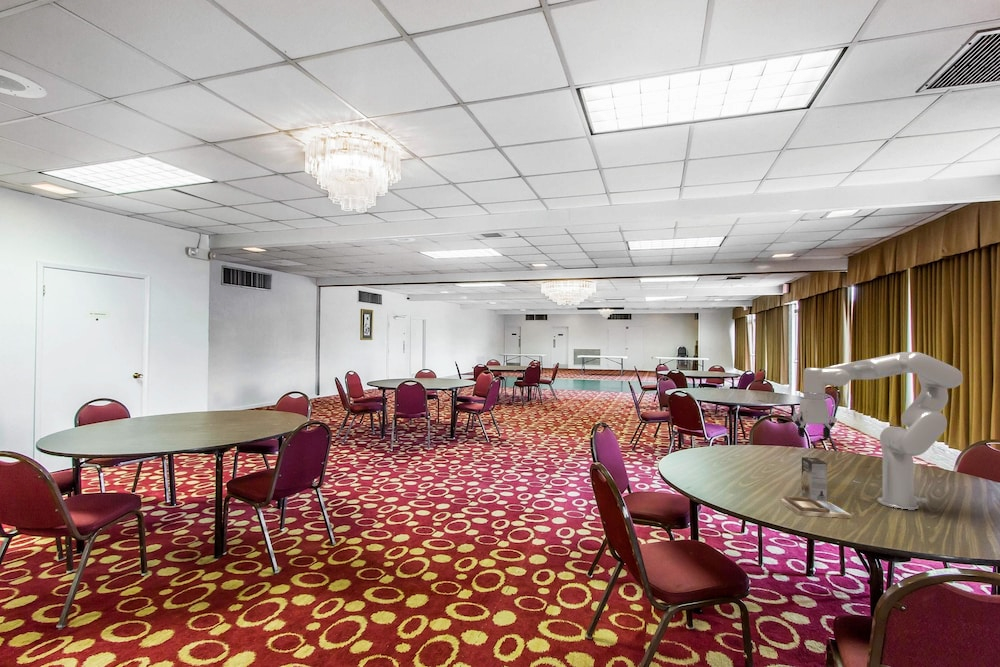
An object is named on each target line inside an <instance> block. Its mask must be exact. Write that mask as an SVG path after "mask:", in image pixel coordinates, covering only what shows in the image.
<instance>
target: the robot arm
mask: <svg viewBox="0 0 1000 667" xmlns="http://www.w3.org/2000/svg"><path fill="white" fill-rule="evenodd" d="M909 373H910V374H916V375H917V379H918V382H919V384H920V392H919V394H918V396H917V397H916V398H915V399H914V400H913V402H912V403H911V404H910V405H909V406H908V407H907V408H906V409H905V411H903V413H902V414H901V417H900V421H901V423H902V424H903V425H904V426H905V427H907V428H903V427H900V426H887V427H886V428H884V429H883V430H882V431H881V433H880V436H879V440H880V441H879V442H880V446H881V454H882V491H881V492H882V493H881V494H882V495H881V497H880V496H879V497H877V502H878V503H879V504H880V505H883V506H886V507H889V508H893V507H894V508H893V509H897V508H901V509H900V510H903V509H908V510H907V511H916V510H915V509H918V508H919V503H920V504H927V503H928V499H927V498H926V497H918V496H916V495H915V494H914V466H915V464H914V457H915V456H921V455H923V454H925V453H926V452H927V451H928V450H929V449H930V448H931V447H932V446H933V445H934V444H935V442H937V440H939V438H940V437H941V436H942V435H943V434H944V433H945V431H946V429H947V425H948V421H947V417H946V416H945V415H944V414H943V412H942V411H943V410H944V408H945V407H946V406H947V404H948V402H949V393H948V389H954V388H957V387H959V386H960V385H961V384H962V383H963V381H964V376H963V372H961V371H960V369H958V368H957V367H954V366H953V365H952V364H948V363H946V362H944V361H941V360H939V359H936V358H935V357H933V356H930V355H928V354H925V353H922V352H919V351H902V352H895V353H891V354H887V355H882V356H878V357H873V358H868V359H860V360H856V361H851V362H845V363H844V362H843V363H839V364H835V365H830V366H826V367H823V368H821V367H806V368H804V370H803V398H801V399H800V404H799V408H798V413H796V414H793V415H792V416H791V419H792V421H793V423H794V425H795V426H796V427H797V434H798V436H799V437H801V438H805V427H804V426H805V425H806V424H809V425H810V424H812V425H822V426H823V428H822V429H823V430H822V431H823V432H822V436H823V437H822V438H825V439H830V436H831V429H832V427H834V426H835V424H836V422H837V420H838V419H837V418H836V417H835V416H832V415H830V414H829V413H830V411H829V406H828V401H827V400H826V398H827V399H828V398H829V394H826V386H834V387H844V386H846V385H848V383H850V381H854V380H878V379H882V378H887V377H892V376H897V375H898V376H899V375H903V374H909ZM829 421H830V422H829ZM918 510H919V509H918Z"/></svg>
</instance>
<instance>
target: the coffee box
mask: <svg viewBox="0 0 1000 667" xmlns="http://www.w3.org/2000/svg"><path fill="white" fill-rule="evenodd" d="M827 493H828V463H827V462H826V461H824V460H821V459H820V458H818V457H806V456H805V457H804V456H801V494H802V495H803V496H804V498H812V499H813V500H815V501H825V502H828V499H827V498H828V496H827V495H828V494H827Z"/></svg>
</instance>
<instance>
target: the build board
mask: <svg viewBox="0 0 1000 667" xmlns="http://www.w3.org/2000/svg"><path fill="white" fill-rule="evenodd" d="M783 497H784V498H780V503H781V504H782V505H784V506H785V507H787V508H788V509H790V510H791V511H792V512H794V513H795V514H797V515H798V516H801V517H802V516H806V517H817V516H821V517H820V518H832V517H838V518H837V519H847V518H851V519H852V514H850V513H849V512H847V511H845V510H844V509H842V508H840V507H839V506H837V505H835V504H833V503H832V502H830V501H827V502H825V501H815V500H813V499H812V498H807V497H799V496H783Z"/></svg>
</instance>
